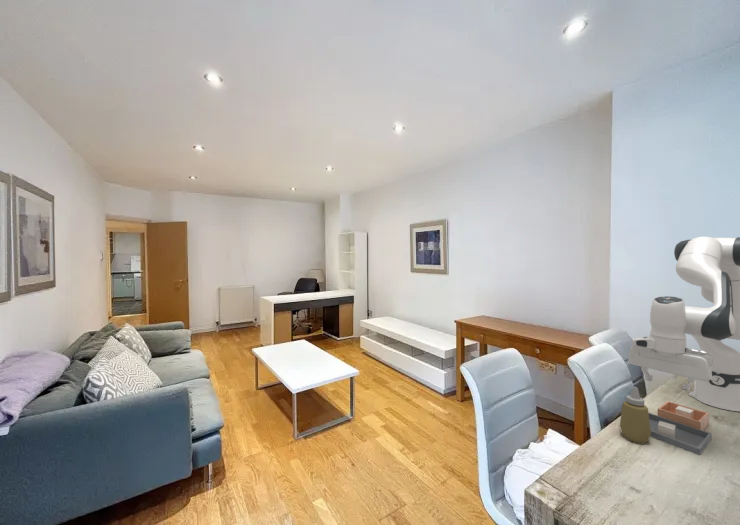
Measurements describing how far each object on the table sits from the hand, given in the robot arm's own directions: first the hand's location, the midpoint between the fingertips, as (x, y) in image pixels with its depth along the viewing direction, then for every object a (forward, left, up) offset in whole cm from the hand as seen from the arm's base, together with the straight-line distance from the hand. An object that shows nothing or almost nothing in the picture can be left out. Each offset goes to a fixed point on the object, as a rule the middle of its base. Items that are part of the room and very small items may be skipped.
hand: (667, 385), depth 103 cm
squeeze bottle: (+10, -5, -19) cm, 22 cm away
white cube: (-20, 0, -18) cm, 27 cm away
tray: (-3, 0, -18) cm, 19 cm away
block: (0, 0, -18) cm, 18 cm away
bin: (-18, 0, -18) cm, 26 cm away
